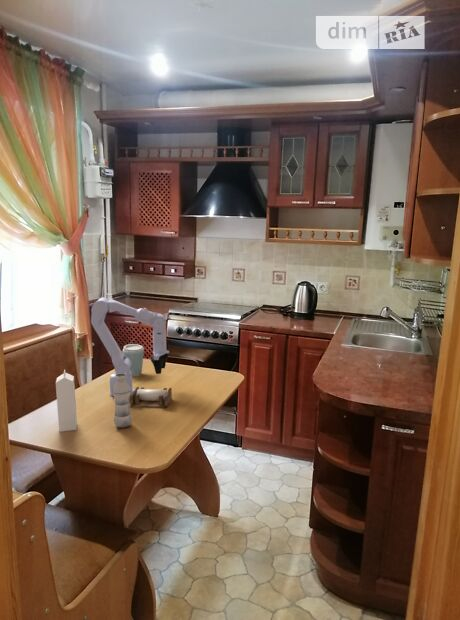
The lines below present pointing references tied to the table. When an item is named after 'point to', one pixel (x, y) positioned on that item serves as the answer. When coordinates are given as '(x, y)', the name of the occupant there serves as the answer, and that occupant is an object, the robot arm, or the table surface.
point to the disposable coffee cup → (134, 357)
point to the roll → (150, 394)
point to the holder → (152, 404)
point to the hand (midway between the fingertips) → (160, 370)
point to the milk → (66, 402)
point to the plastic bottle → (122, 402)
